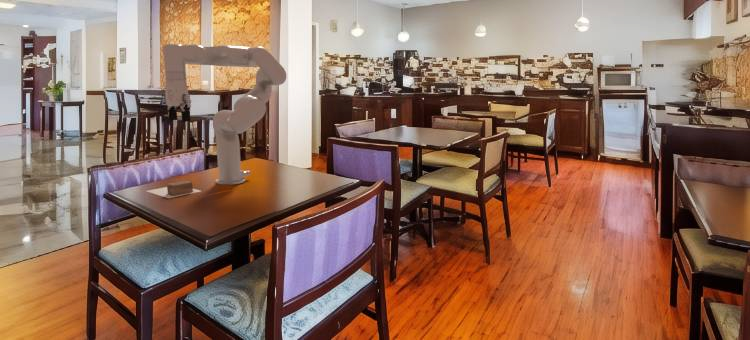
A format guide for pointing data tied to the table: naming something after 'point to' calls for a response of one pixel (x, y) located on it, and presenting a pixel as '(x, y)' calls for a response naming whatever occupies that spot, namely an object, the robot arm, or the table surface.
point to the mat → (164, 192)
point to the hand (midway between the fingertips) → (179, 120)
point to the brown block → (179, 188)
